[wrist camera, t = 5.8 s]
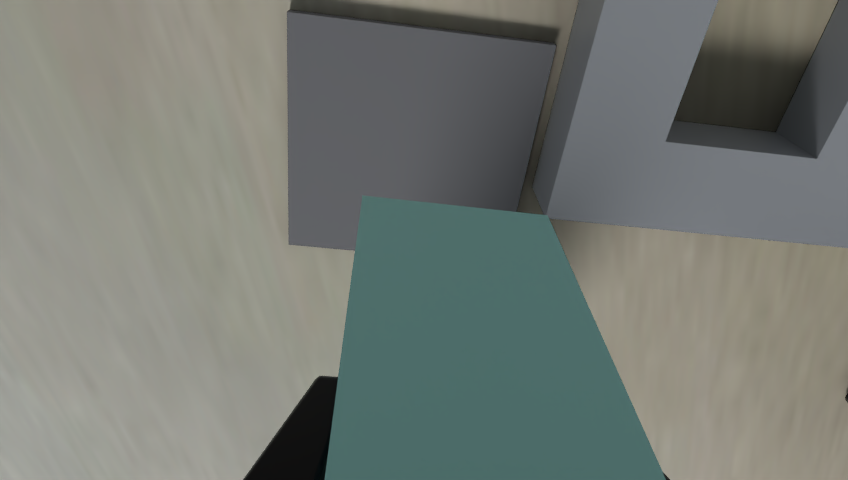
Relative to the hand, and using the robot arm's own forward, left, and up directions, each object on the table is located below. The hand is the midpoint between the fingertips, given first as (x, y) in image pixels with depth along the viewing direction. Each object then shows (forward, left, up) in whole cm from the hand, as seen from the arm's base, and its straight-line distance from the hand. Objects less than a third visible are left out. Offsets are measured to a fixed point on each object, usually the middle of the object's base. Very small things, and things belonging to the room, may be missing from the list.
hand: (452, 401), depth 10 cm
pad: (+1, +1, -13) cm, 13 cm away
